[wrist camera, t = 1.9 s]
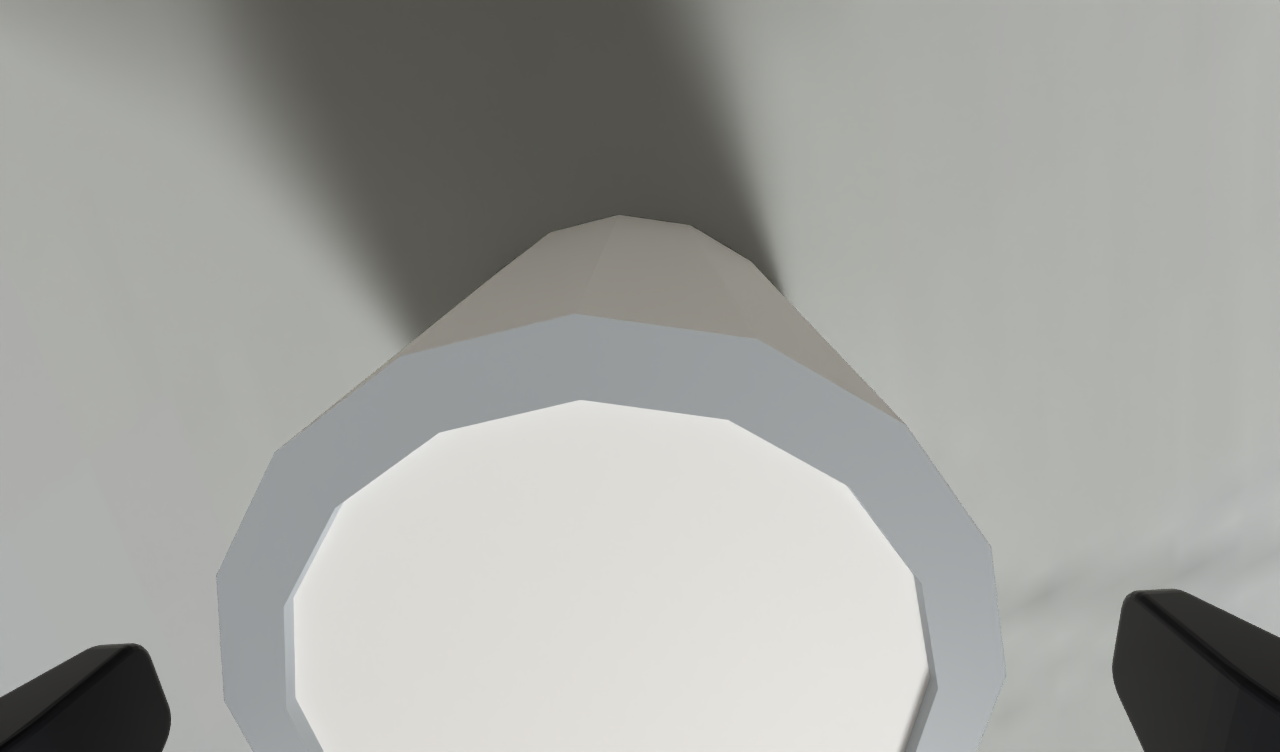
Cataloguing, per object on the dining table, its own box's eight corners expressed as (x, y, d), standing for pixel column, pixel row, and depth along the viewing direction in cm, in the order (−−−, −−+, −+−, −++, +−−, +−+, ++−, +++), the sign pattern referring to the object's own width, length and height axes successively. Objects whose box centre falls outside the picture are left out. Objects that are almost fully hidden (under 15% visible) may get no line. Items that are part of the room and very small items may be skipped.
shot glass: (833, 554, 15) (973, 955, 8) (452, 568, 15) (299, 969, 9) (847, 160, 12) (1068, 296, 6) (389, 185, 12) (98, 342, 6)
